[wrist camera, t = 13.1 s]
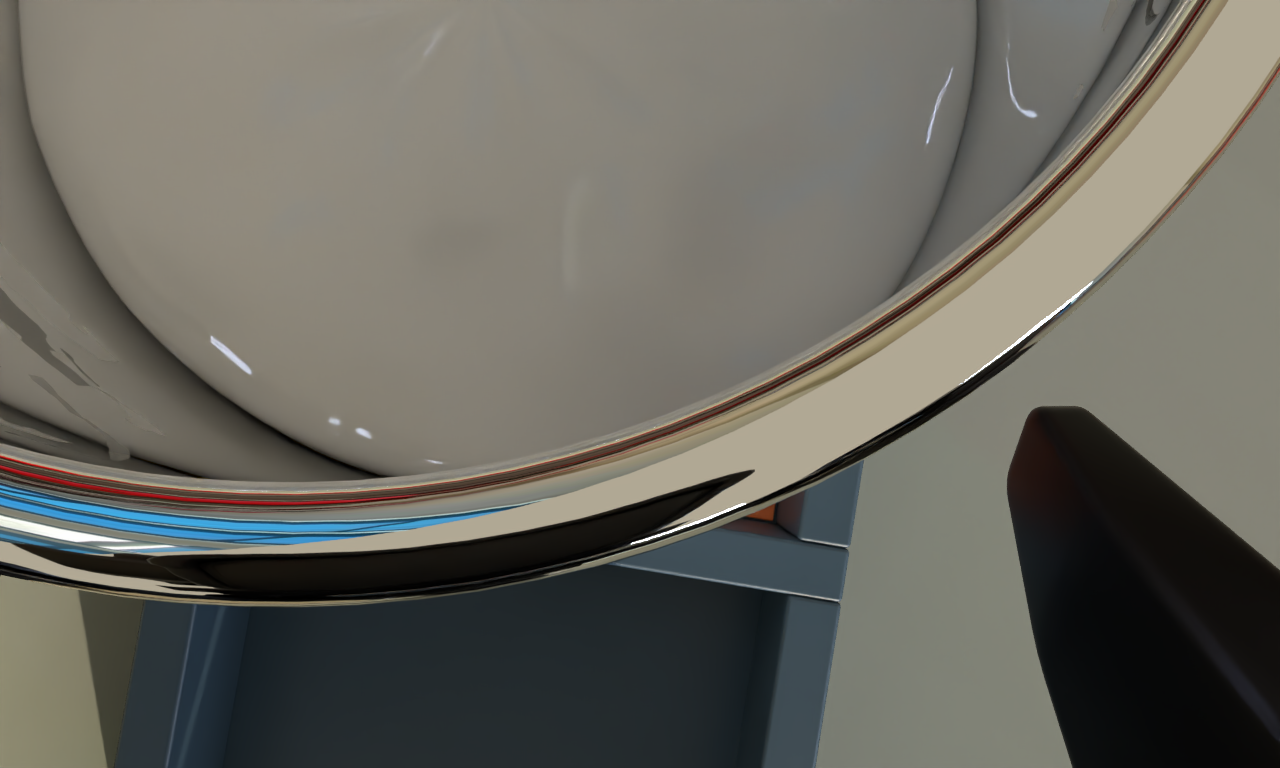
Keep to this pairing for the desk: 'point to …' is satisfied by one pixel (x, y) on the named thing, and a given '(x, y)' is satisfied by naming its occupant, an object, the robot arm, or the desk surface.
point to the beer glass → (540, 263)
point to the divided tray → (521, 664)
